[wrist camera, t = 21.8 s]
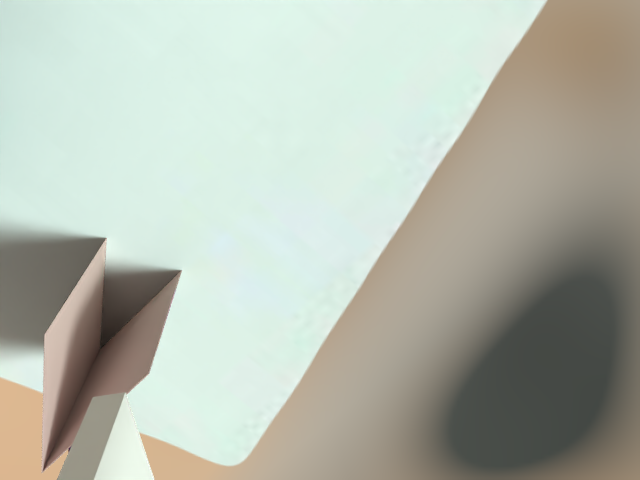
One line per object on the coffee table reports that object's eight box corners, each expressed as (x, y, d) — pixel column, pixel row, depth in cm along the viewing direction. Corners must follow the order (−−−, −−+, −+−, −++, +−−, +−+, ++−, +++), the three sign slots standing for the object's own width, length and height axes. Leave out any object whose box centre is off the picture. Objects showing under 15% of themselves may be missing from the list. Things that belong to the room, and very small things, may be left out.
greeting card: (107, 355, 56) (52, 479, 42) (39, 307, 54) (-43, 421, 40) (189, 276, 53) (159, 381, 40) (121, 221, 51) (64, 313, 37)
